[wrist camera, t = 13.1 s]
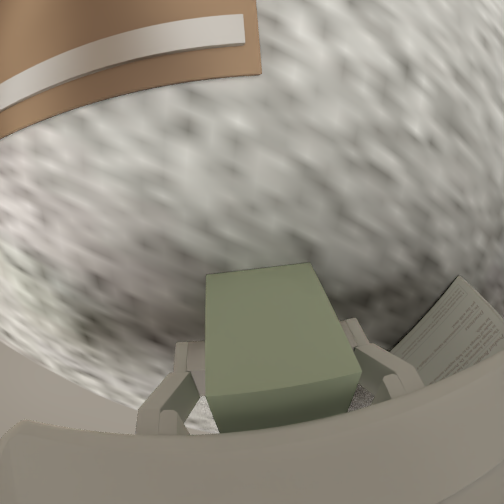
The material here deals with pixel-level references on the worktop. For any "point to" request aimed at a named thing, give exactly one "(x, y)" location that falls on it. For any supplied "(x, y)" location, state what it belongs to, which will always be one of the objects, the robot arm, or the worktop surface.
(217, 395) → the block
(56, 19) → the track
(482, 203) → the worktop surface
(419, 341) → the supplement box
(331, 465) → the robot arm
